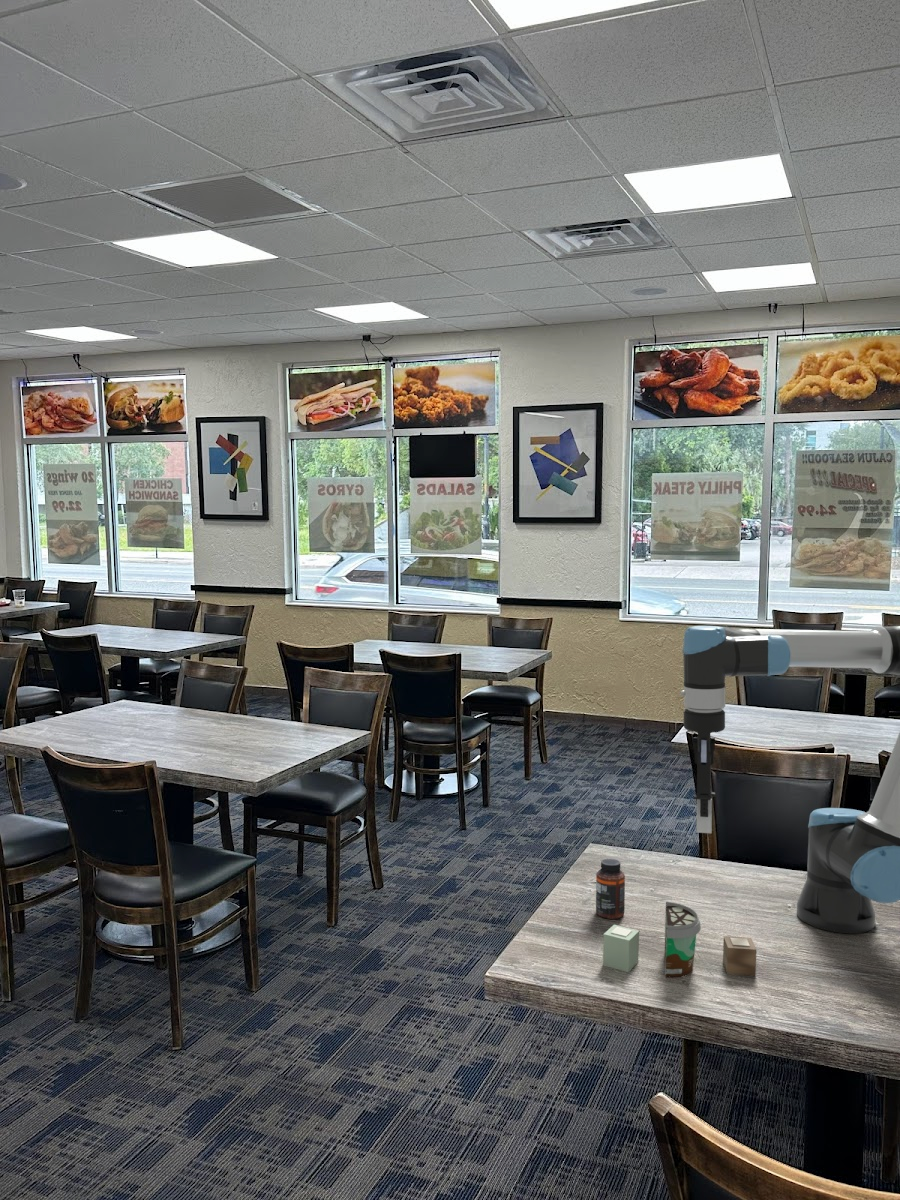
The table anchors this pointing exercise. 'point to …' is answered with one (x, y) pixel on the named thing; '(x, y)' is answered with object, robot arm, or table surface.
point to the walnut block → (739, 956)
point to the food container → (680, 939)
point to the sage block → (621, 948)
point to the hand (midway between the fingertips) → (704, 831)
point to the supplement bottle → (610, 890)
